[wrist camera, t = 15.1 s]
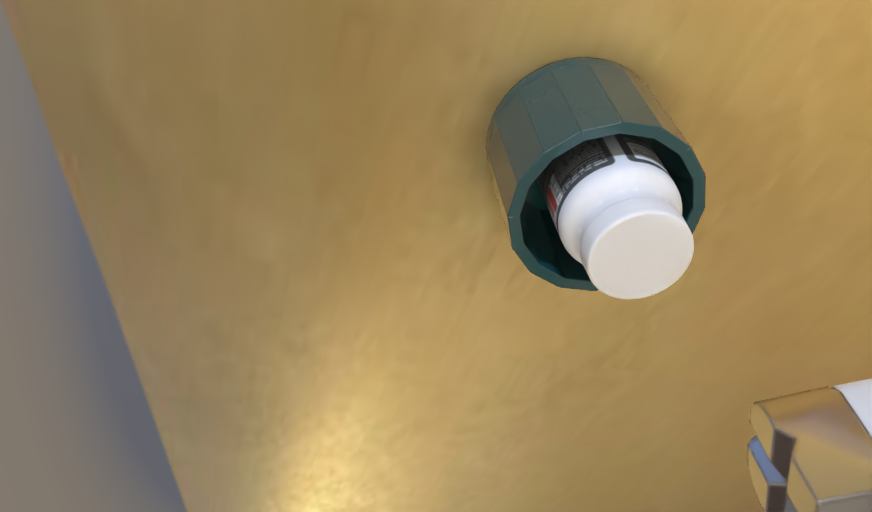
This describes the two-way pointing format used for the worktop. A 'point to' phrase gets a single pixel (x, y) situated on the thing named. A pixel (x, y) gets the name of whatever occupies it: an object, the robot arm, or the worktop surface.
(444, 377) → the worktop surface
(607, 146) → the pill bottle
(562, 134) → the holder
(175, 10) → the worktop surface
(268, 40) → the worktop surface
